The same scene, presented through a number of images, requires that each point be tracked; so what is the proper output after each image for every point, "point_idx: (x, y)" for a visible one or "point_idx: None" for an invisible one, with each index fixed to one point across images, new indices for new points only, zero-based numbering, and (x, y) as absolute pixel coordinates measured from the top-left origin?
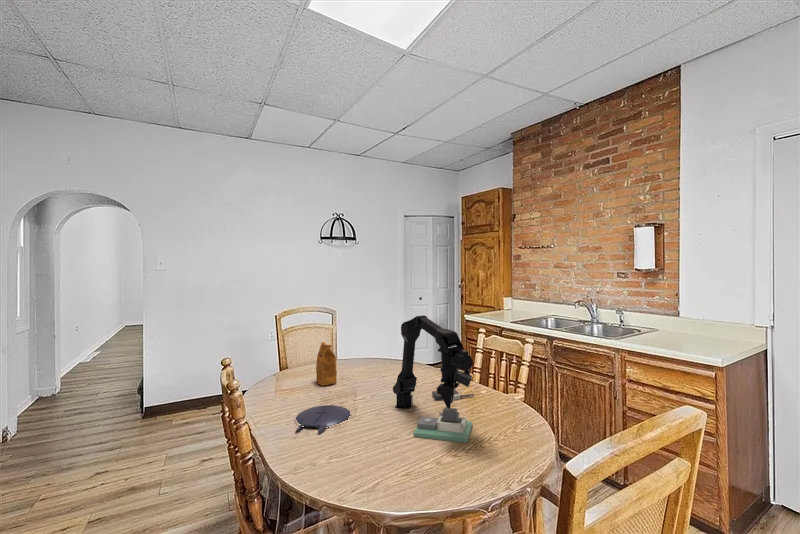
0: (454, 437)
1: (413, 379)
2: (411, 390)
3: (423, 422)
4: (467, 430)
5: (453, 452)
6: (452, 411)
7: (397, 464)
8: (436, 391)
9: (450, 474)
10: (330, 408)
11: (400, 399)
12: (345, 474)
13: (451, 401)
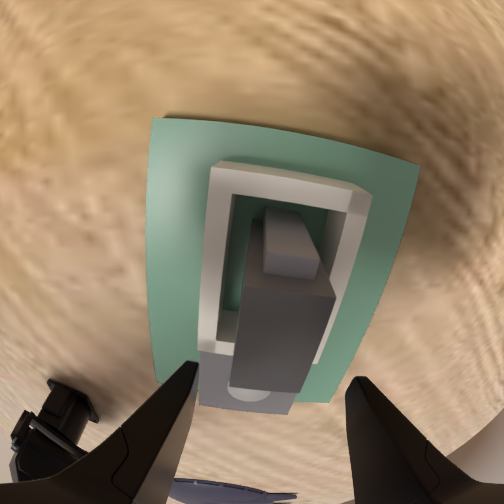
0: (400, 240)
1: (34, 470)
2: (37, 422)
3: (273, 399)
4: (309, 151)
5: (472, 240)
6: (324, 327)
7: (469, 379)
8: None
9: None
10: (193, 501)
11: (82, 432)
12: (456, 429)
13: (195, 381)
